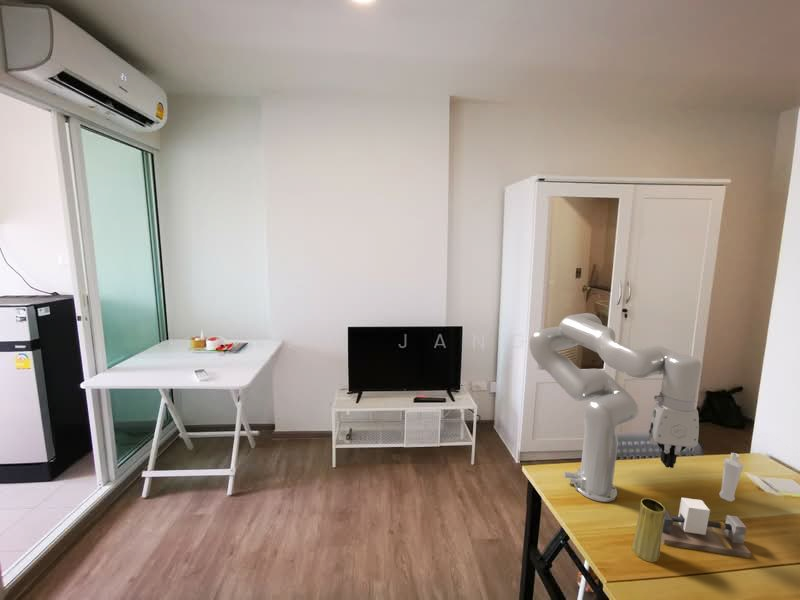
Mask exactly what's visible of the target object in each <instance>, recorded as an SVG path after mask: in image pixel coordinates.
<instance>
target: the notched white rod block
mask: <svg viewBox="0 0 800 600" xmlns="http://www.w3.org/2000/svg"><path fill="white" fill-rule="evenodd" d="M710 513H711V509H710V508H709V507H708V506H707V505H706V504H705V502H704V501H703V500H702V499H695V498H694V499H693V498H688V497H681V498H680V503H679V509H678V514H677V515H678V517H684V519H685V522H684V523H681V522H679V524H680V525H681V527H682V529H683V530H684V532H690V533H697V534H703V535H705V534H706V529H707V524H708V521H709V518H710Z"/></svg>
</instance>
